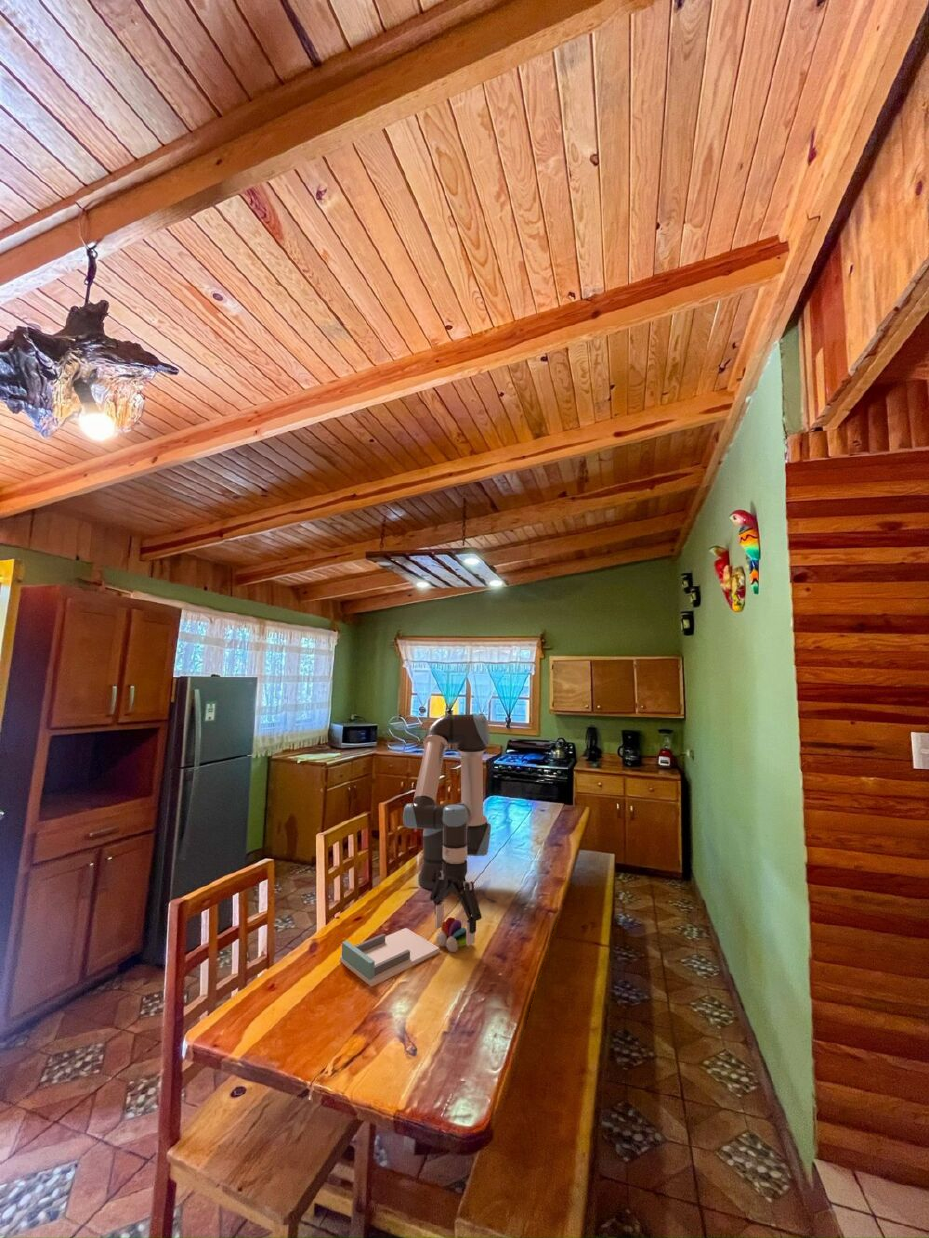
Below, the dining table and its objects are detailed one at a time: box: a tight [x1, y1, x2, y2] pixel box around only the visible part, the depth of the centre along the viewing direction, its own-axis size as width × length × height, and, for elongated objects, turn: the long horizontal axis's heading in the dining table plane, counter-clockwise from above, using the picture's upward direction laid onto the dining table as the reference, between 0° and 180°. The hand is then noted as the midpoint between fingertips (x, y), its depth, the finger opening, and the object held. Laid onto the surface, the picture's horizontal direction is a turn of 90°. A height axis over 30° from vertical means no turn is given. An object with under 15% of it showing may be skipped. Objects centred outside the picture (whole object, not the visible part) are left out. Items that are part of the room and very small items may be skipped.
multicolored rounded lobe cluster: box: [436, 916, 467, 953], centre depth 144 cm, size 8×10×7 cm
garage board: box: [339, 927, 440, 988], centre depth 138 cm, size 23×16×5 cm
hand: (454, 935), depth 144 cm, fingers open, 13 cm apart
